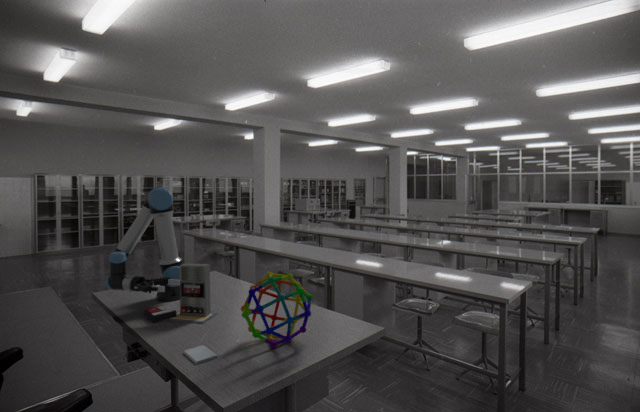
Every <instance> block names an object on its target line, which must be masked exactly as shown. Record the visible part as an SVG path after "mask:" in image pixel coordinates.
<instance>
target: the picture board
mask: <svg viewBox="0 0 640 412" xmlns="http://www.w3.org/2000/svg"><path fill="white" fill-rule="evenodd" d="M179 313H180V310H178V311H176V317H173V318H169V319H165V321H167V322H178V323H179V322H180V323H190V324H205V323H207V322H208V321H209V320H210V319H212V318H213V317H215V316H217V315H218V312H211V313H209V314H208V315H207V316H192V315H179Z"/></svg>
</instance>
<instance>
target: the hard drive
mask: <svg viewBox="0 0 640 412" xmlns="http://www.w3.org/2000/svg"><path fill="white" fill-rule="evenodd" d="M183 354H184V356H186V357H187V358H188V359H189V360H190V361H192V363H194V364H195V365H199V364H203V363H206V362H209V361H212V360H215V358H216V359H218V355H217V354H216V353H214V352H213V351H212V350H210V349H209V348H208V347H207V346H205V345H203V344H202V345H198V346H195V347H191V348H188V349H184V350H183Z"/></svg>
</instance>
